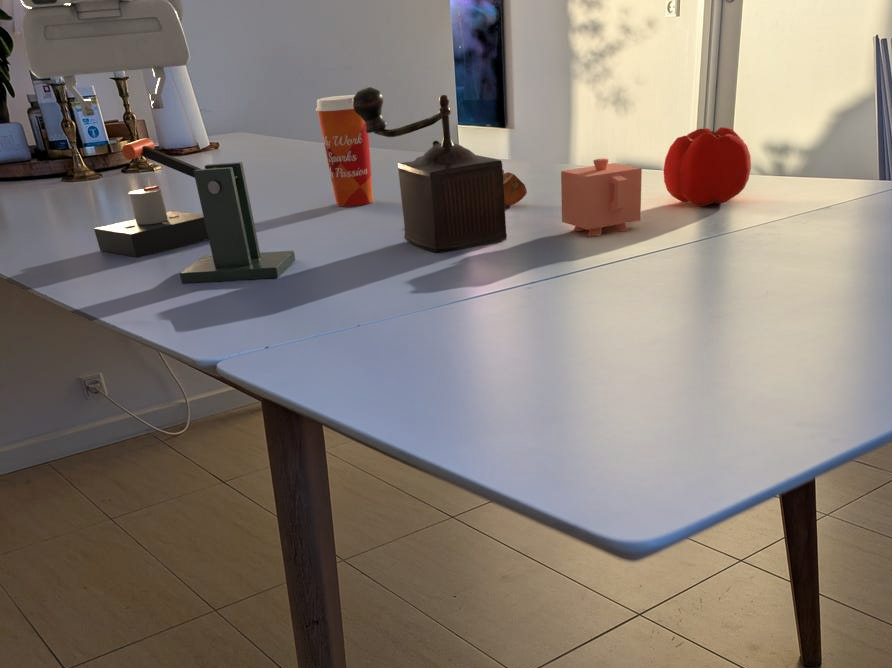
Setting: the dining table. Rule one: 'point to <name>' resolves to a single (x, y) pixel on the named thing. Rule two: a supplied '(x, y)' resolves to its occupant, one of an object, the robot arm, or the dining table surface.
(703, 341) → the dining table surface
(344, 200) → the coffee cup
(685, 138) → the tomato
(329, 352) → the dining table surface
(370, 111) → the brown coffee grinder
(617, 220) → the pink cube teapot
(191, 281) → the switch bracket
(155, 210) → the knob
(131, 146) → the lever
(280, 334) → the dining table surface
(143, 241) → the dial panel
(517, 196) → the bread roll
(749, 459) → the dining table surface
